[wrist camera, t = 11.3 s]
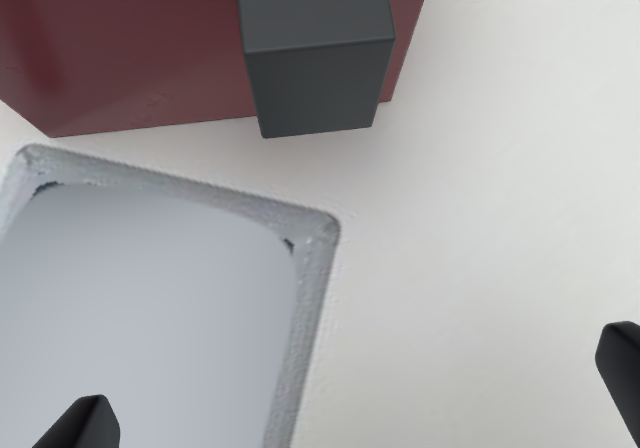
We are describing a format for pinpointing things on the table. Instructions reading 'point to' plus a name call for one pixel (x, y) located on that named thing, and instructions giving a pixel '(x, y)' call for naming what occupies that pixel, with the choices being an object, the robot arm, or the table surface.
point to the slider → (315, 62)
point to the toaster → (137, 62)
